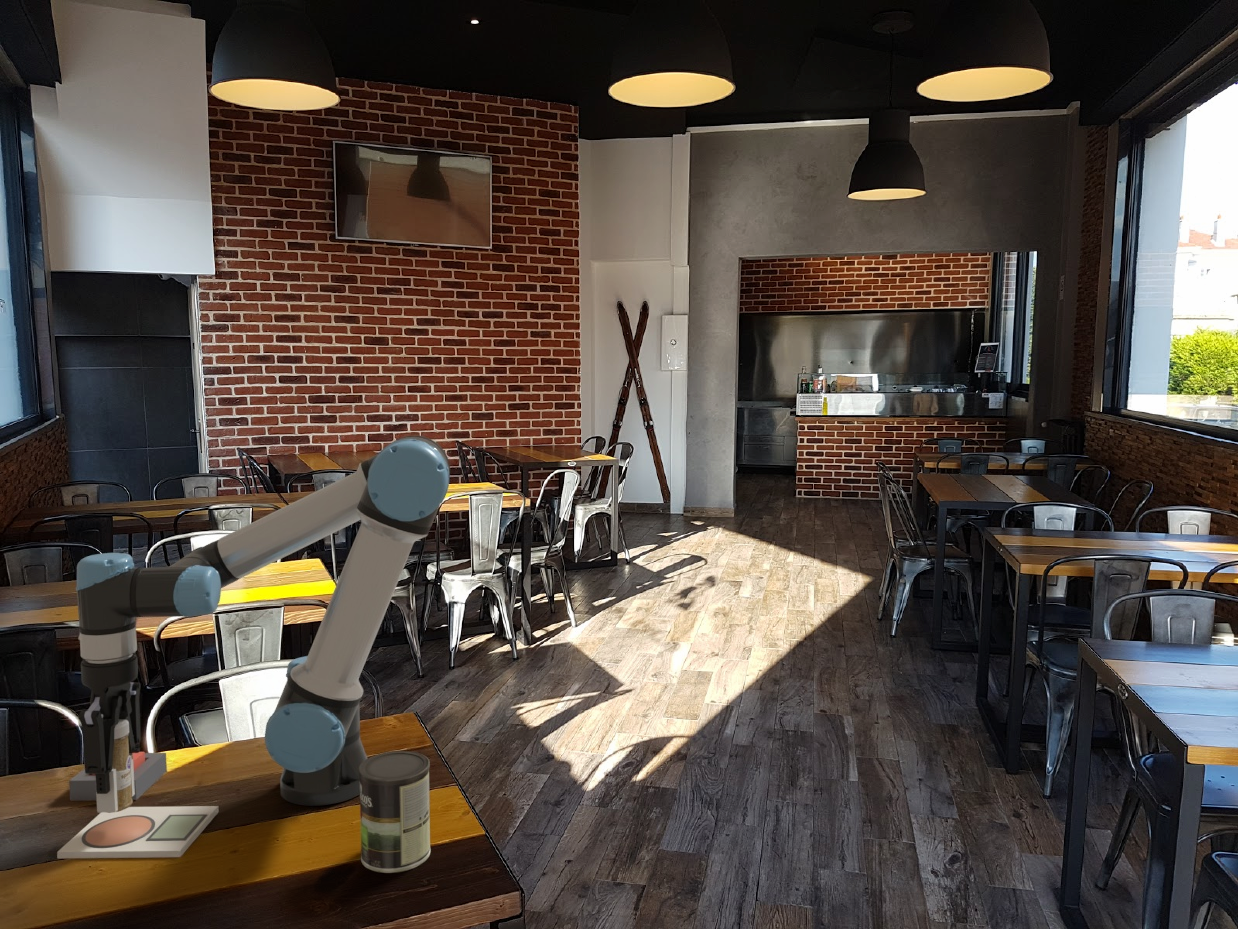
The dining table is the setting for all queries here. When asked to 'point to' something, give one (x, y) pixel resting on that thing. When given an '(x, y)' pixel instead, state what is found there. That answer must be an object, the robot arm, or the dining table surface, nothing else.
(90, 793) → the button housing
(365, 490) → the robot arm
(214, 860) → the dining table surface
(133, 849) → the picture board
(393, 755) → the coffee can
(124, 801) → the spice jar
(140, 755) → the button
